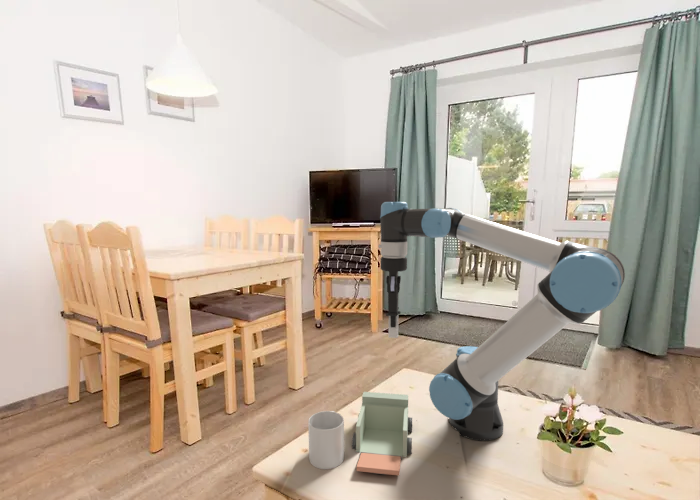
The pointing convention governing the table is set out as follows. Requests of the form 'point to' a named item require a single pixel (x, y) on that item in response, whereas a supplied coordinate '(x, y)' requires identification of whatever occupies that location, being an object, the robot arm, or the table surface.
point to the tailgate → (379, 463)
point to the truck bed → (383, 425)
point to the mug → (326, 439)
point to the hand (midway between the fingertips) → (393, 336)
